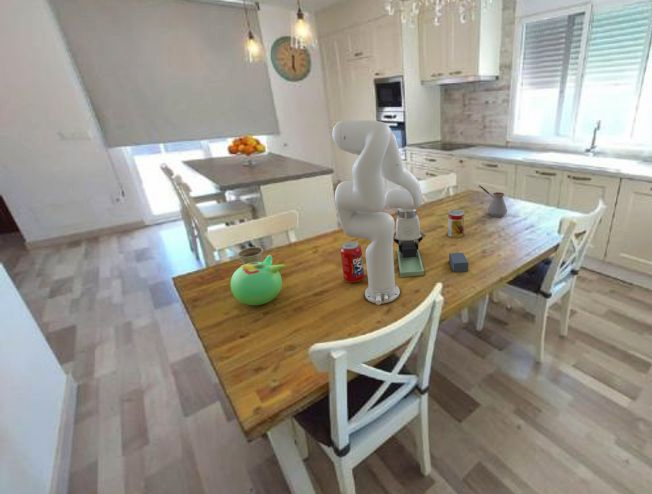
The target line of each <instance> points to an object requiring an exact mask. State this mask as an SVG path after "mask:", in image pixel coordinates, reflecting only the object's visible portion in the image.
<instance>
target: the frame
mask: <svg viewBox="0 0 652 494" xmlns="http://www.w3.org/2000/svg"><path fill="white" fill-rule="evenodd" d="M419 249H420V248H418V250H417V252H416V257H408V258H403V257H402V253H401V252H400V251H399V247H397V248H396V253H397V260H398V261H397V262H398V268H399V269H398V270H399V277H400V278H405V277H406V278H407V277H419V276H425V269H424V264H423V262H422V257H421V253H420V250H419Z"/></svg>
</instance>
